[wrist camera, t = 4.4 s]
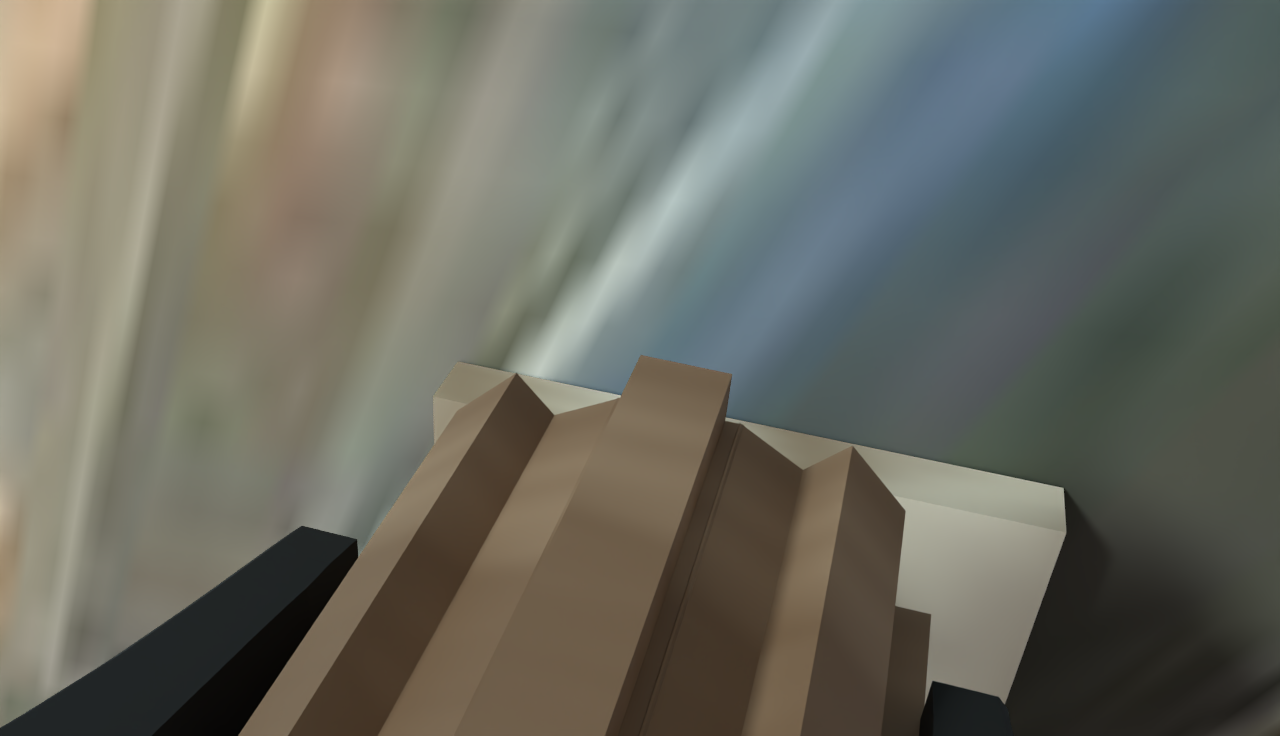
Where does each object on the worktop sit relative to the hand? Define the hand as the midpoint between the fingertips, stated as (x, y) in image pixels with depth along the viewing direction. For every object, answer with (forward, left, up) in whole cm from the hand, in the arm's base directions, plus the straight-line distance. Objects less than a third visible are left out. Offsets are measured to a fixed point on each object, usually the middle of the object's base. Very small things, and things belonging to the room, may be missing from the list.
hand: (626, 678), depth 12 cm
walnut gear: (0, 0, -1) cm, 1 cm away
